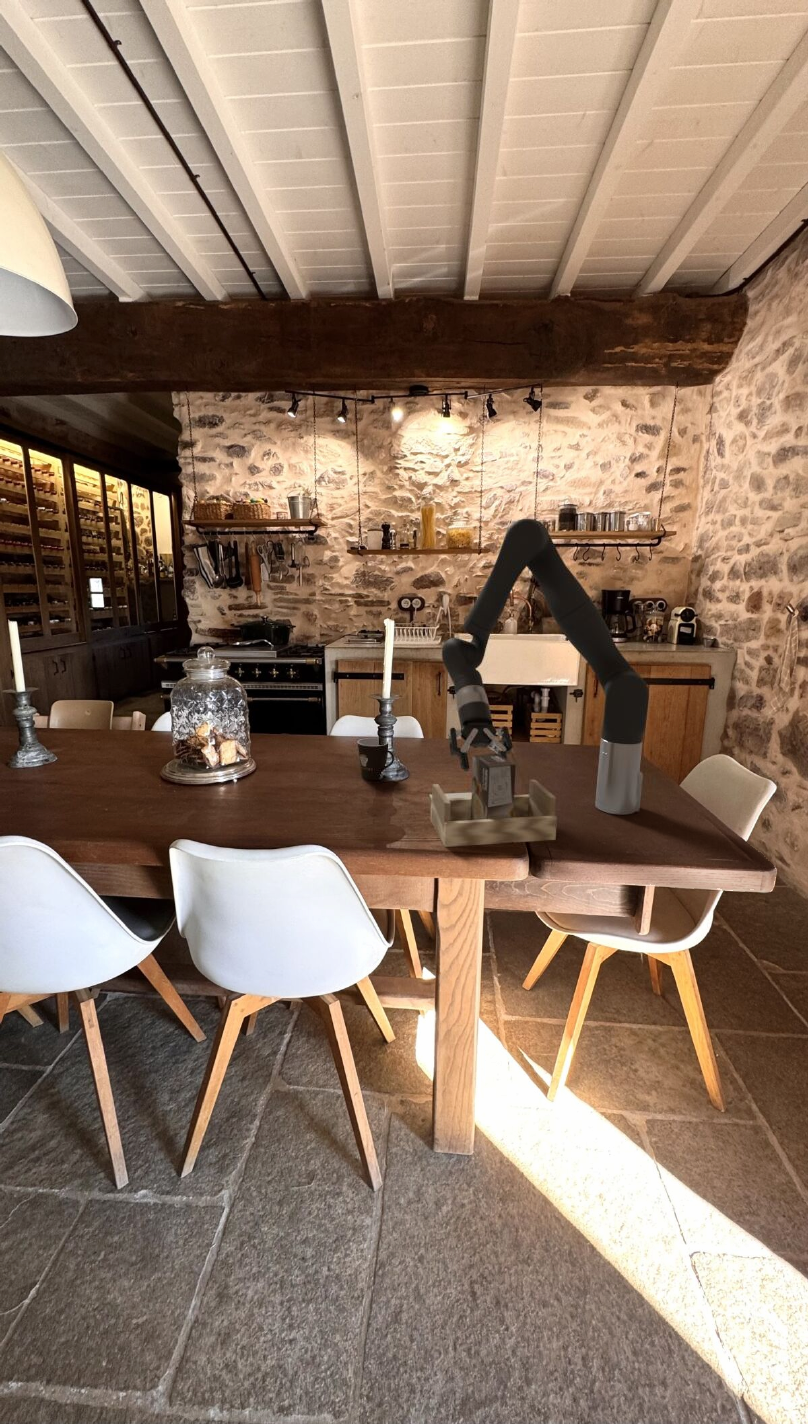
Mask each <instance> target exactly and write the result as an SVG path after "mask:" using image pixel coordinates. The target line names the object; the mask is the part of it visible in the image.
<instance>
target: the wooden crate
mask: <svg viewBox="0 0 808 1424" xmlns="http://www.w3.org/2000/svg"><path fill="white" fill-rule="evenodd" d="M431 790H432V791H431V793H432V799H431V798H430V822H431V824H432V825H433V828H434V829H435V831H436V833H437V835H438V836H439V838H440V840H441V843H442V844H443V846H444V847H445V848H448V847H464V846H465V847H466V846H478V845H493V844H495V845H496V844H497V845H498V844H508V843H509V844H510V842H511V844H512V842H513V843H524V842H525V843H527V842H542V841H543V842H544V841H556V836H557V821H558V816H557V815H555V814H556V801H557V797H556V796H555V795H554V794H552V793H551V792H550V790H548V789H547V788H545V787H544V786H543V785H542V784H541V783H540V782H538V781H537V780H536V779H529V786H528V794H514V809H513V818H501V819H483V820H471V799H472V797H469V798H449V799H448V798H447V797H446V796H445V794H446V793H445V792H444V791H443V789H442V788H441V787H440V785H439V784H438V783H436V784H435V783H433V784H432V789H431Z"/></svg>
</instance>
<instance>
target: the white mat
mask: <svg viewBox="0 0 808 1424" xmlns="http://www.w3.org/2000/svg"><path fill="white" fill-rule="evenodd" d="M444 794H445V796H446V797H447V798H448V799H449V798H469V797H472V791H471V792H456V793H455V792H454V793H453V792H452V793H444ZM429 798H430V800H431V799H432V794H431V793H430V794H429Z"/></svg>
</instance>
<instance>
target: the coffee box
mask: <svg viewBox="0 0 808 1424" xmlns="http://www.w3.org/2000/svg"><path fill="white" fill-rule="evenodd" d="M516 768H517V764H516V763H513V762H512V761H510V760H509V759H508V758H507V759H505V758H504V757H502V756H501V755H499V754H497V753H487V754H486V753H484V754H480V755H477V754H476V755H473V756H472V769H471V770H472V773H471V774H472V775H471V792H472V799H471V820H483V819H501V818H513V809H514V795H515V787H516V784H515V783H516Z"/></svg>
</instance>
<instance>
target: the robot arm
mask: <svg viewBox="0 0 808 1424" xmlns="http://www.w3.org/2000/svg"><path fill="white" fill-rule="evenodd" d="M504 535H505V536H504V538H503V541H502V544H501V546H500V550H499V553H498V554H497V558H496V560H495V563H494V565H493V567H492V570H491V572H490V574H489V576H488V578H487V580H486V582H485V584H484V586H483V588H482V589H481V591H480V593H479V595H478V596H477V598H476V600H475V601H474V604H473V605H472V608H471V609H470V611H469V613H468V615H467V617H466V618H465V621H464V623H463V629H464V631H465V632H466V633H467V634H469V635H470V636H472V639H471V641H468V640H465V639H461V638H459V637H451V638H449V639H447V640H446V641H445V642H444V644H443V646H442V649H441V657H442V663H443V665H444V667H445V669H446V671H447V673H448V675H449V677H450V679H451V681H452V682H453V686H454V693H455V698H456V700H455V701H456V702H455V703H456V710H457V713H458V715H457V716H458V719H459V725H460V729H456V728H455V727H451V728H450V729H449V732H448V743H449V744H448V746H449V753H450V755H451V756H457V757H459V763H460V768H461V769H462V770H464V772H469V770H470V762H469V758H468V757H469V756H468V750H469V748H470V747H471V748H474V749H477V748H489V749H490V750H491V751H494V752H495V754H499V755H501V756H502V757H504V758H505V759H507V760H508V757H507V754H510V753H511V752H512V749H513V748H514V745H513V742H512V741H513V740H512V738H511V736H510V732H509V729H508V726H502V728H495V726H494V723H493V718H492V717H493V716H492V714H491V709H490V704H489V699H488V696H487V693H486V690H485V686H484V682H483V678H482V674H481V673H480V671H479V670H478V668H479V666H480V665H482V663H483V660H484V657H485V653H486V651H487V646H488V642H489V639H490V635H491V633H492V631H493V630H494V628H495V627H496V624H497V623H498V622H499V619H500V617H501V615H502V614H503V612H504V610H505V607H506V605H507V602H508V600H509V597H510V595H511V593H512V590H513V588H514V586H515V584H516V583H517V581H518V579H519V577H520V575H521V574H522V573H523V572H524V570H525V568H528V570H529V571H530V572H531V574H532V575H533V577H534V578H535V579H536V582H537V583H538V584H539V587H540V589H541V592H542V594H543V597H544V600H545V602H546V605H547V607H548V611H550V614H551V616H552V618H553V619H554V622H556V625H557V626H558V627H559V628H560V631H562V633H563V635H564V636H565V637H566V639H567V640H568V641H569V642H570V644H571V645H572V646H573V647H574V649H575V650H576V651H577V652H578V653H579V654H580V655H581V657H583V659H584V660H585V661H586V662H587V663H588V664H589V666H590V667H591V669H592V671H593V673H594V675H595V676H596V679H597V680H598V682H599V685H600V687H601V689H602V691H603V693H604V697H605V698H604V699H605V700H604V712H603V720H602V721H603V722H602V726H601V732H600V733H601V735H600V736H601V737H600V747H599V757H598V769H597V780H596V781H597V782H596V790H595V791H596V793H595V803H594V805H595V808H597V809H598V810H600V811H602V812H605V813H607V814H612V815H622V816H623V815H630V814H633V813H636V812H640V806H641V797H642V796H641V795H642V787H643V786H642V785H643V777H644V775H643V774H644V773H643V772H642V771H640V769H641V767H640V766H641V761H642V760H641V757H642V751H643V750H642V749H643V741H644V740H643V739H644V734H645V731H646V728H647V727H646V725H647V717H648V710H649V709H648V708H649V701H650V690H649V687H648V684H647V683H646V682H645V680H644V679H643V677H642V676H641V675H640V674H638V672H637V671H636V670H635V669H634V667H632V665H631V664H630V663H629V661H628V660H627V659H626V658H625V657H624V656H623V654H622V653H621V652H620V650H619V649H618V647H617V645H616V643H615V641H614V639H613V637H612V634H611V632H610V630H609V627H608V626H607V624H606V622H605V620H604V618H603V616H602V615H601V612H600V611H599V609H598V608H597V606H596V604H595V603H594V602H593V600H592V599H591V597H590V595H589V594H588V593H587V592H586V590H585V588H584V587H583V586H582V584H581V583H580V582H579V580H578V579H577V577H575V575H574V574H573V573H572V572H571V570H570V569H569V568H568V567H567V565H566V564H565V562H564V561H563V559H562V557H561V554H560V553H559V551H558V549H557V547H556V545H555V543H554V541H553V540H552V537H551V535H550V533H549V531H548V529H547V527H546V526H545V525H544V524H543V523H542V522H540V520H538V519H532V518H522V519H518V520H516V521H515V522H513V523H512V524H511V525H510V526H509V527H508V528H507V530H506V532H505V534H504ZM496 735H497V736H498V737H499V738H497V737H496ZM459 736H460V737H461V738H462V739H463V740H464V743H463V745H462V746H461V747H458V739H459ZM499 739H501V742H502V743H501V742H500V740H499Z"/></svg>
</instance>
